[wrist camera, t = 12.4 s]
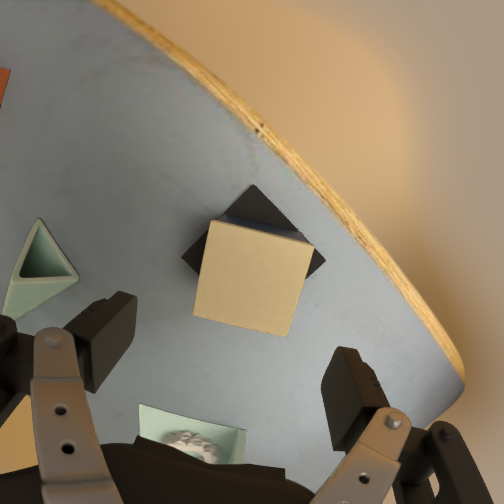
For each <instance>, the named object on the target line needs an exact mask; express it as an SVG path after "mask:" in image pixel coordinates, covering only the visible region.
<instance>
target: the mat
mask: <svg viewBox="0 0 504 504" xmlns="http://www.w3.org/2000/svg"><path fill="white" fill-rule="evenodd" d="M224 214H229V215H233V216H237V217H241V218H245V219H250V220H254V221H258V222H262V223H266V224H270V225H274V226H278V227H282V228H286V229H290V230H294V231H298V229H297V228H296V227H295V226H294V225H293V224H292V223H291V222H290V221H289V220H288V219H287V218H286V217H285V216H284V215H283V214H282V213H281V212H280V211H279V210H278V208H277V207H276V206H275V205H274V204H273V203H272V202H271V201H270V200H269V199H268V198H267V197H266V196H265V195H264V194H263V193H262V192H261V191H260V190H259V189H258V188H257V187H256V186H255V185H253V186H252V187H251V188H250V189H249V190H248V191H247V192H246V193H244V194H243V195H242V196H241V197H240V198H239V199H238V200H237V201H236V202H235V203H234V204H233V205H232V206H231V207H230V208H229V209H228V210H227V211H226V212H225V213H224ZM224 214H223V215H224ZM223 215H222V216H223ZM208 231H209V229H208V230H207V231H206V232H205V233H204V234H203V235H202V236H201V237H200V238H199V239H198V241H197V242H196V243H195V244H194V245H193V246H192V247H191V248H190V249H189V250H188V251H187V252H186V253H185V254H184V255H183V256H182V257H181V258H182V259H183V260H184V261H185V262H186V263H187V264H188V265H189V266H190V267H191V268H192V269H193V270H194V271H195V272H197V273H198V274H199V275H200V270H201V265H202V260H203V255H204V250H205V245H206V241H207V236H208ZM298 232H299V231H298ZM305 239H306V238H305ZM306 240H307V239H306ZM307 242H308V243H310V242H309V241H308V240H307ZM325 261H326V260H325V259H324V258H323V256H322V255H321V254H320V253H319V252H318V251H317V250H316V249H315V248H314V251H313V254H312V258H311V261H310V264H309V268H308V271H307V274H306V277H305V279H306V278H308V277H309V276H310V275H311V274H312V273H313V272H314V271H315V270H317V269H318V268H319V267H320V266H321V265H322V264H323V263H324V262H325Z"/></svg>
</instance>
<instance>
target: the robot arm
mask: <svg viewBox="0 0 504 504" xmlns="http://www.w3.org/2000/svg"><path fill="white" fill-rule="evenodd" d="M136 313H137V297H136V296H134V295H131V294H128V293H125V292H122V291H118V292H116V293H115V294H114V295H113V296H112V297H111V298H109V299H108V300H107V299H105V298H104V299H101V300H98V301H95V302H93V303H92V304H91V305H89V306H88V307H87V308H86V309H85V310H83V311H82V312H81V314H79V315H77V316H76V317H75V318H74V319H73V320H71V321H70V322H69V323H68V324H67V325H66V326H64V327H63V328H57V327H49V328H45V329H42V330H40V331H39V332H37V333H36V335H35V336H32V335H27V334H23V333H19V332H17V327H16V323H15V321H14V320H13V319H12V318H11V317H9V316H6V315H0V428H1V426H2V425H3V424H4V422H5V421H6V420H7V418H8V417H9V416H10V414H11V413H12V412H13V411H14V409H15V408H16V407H17V405H18V404H19V403H20V402H21V401H22V399H23V398H24V397H25V396H26V395H30V396H31V407H32V420H33V430H34V438H35V446H36V451H37V459H38V464H39V465H36V466H32V467H28V468H25V469H21V470H17V471H13V472H9V473H5V474H0V504H382V503H383V501H384V499H385V497H386V495H387V493H388V491H389V489H390V487H391V485H392V487H393V491H394V495H395V500H396V503H397V504H494V503H493V501H492V498H491V496H490V494H489V491H488V490H487V487H486V485H485V483H484V480H483V478H482V476H481V474H480V472H479V470H478V468H477V466H476V464H475V462H474V460H473V458H472V456H471V454H470V452H469V450H468V448H467V446H466V444H465V442H464V440H463V438H462V436H461V434H460V433H459V431H458V430H457V428H455V427H454V426H453V425H452V424H450V423H448V422H445V421H436V422H434V423H433V424H432V425H431V427H430V428H429V429H428V430H423V429H419V428H415V427H412V426H411V422H410V419H409V418H408V417H407V416H406V415H405V414H404V413H403V412H402V411H400V410H398V409H395V408H392V407H390V405H389V402H388V400H387V398H386V396H385V394H384V392H383V389H382V387H380V386H381V385H380V383H379V381H378V380H377V377H376V375H375V373H374V370H373V369H372V368H371V367H370V366H369V365H368V364H367V363H365V362H363V361H362V359H361V357H360V355H359V353H358V351H357V349H353V348H347V347H341V346H339V347H337V348H336V350H335V352H334V354H333V356H332V359H331V361H330V363H329V365H328V367H327V370H326V372H325V374H324V376H323V379H322V383H321V393H322V397H323V402H324V407H325V412H326V417H327V421H328V426H329V431H330V436H331V441H332V446H333V451H345V453H346V456H345V457H344V458H343V460H342V461H341V462H340V463H339V465H338V466H337V467H336V469H335V470H334V471H333V472H332V474H331V475H330V476H329V478H328V479H327V480H326V481H325V482H324V484H323V485H322V486H321V487H320V488H319V490H318V491H317V492H316V493H315V494H314V493H313V492H312V491H310V490H309V489H307V488H306V487H304V486H302V485H300V484H298V483H296V482H293V481H291V480H288V479H285V468H276V467H268V466H261V465H254V464H209V463H206V462H204V461H202V460H199V459H197V458H195V457H193V456H191V455H189V454H187V453H185V452H183V451H181V450H179V449H177V448H175V447H173V446H169V445H166V444H163V443H159V442H156V441H153V440H150V439H147V438H144V437H141V436H138V435H137V437H136V439H135V442H134V444H128V443H110V444H102V445H100V444H99V441H98V438H97V434H96V431H95V428H94V424H93V421H92V417H91V413H90V410H89V406H88V402H87V398H86V393H85V390H86V391H89V392H91V393H93V394H95V393H96V391H97V390H98V389H99V387H100V386H101V384H102V383H103V382H104V380H105V379H106V377H107V376H108V375H109V373H110V372H111V370H112V369H113V368H114V366H115V365H116V364H117V362H118V361H119V359H120V358H121V357H122V355H123V354H124V353H125V351H126V350H127V349H128V347H129V346H130V344H131V343H132V341H133V338H134V334H135V325H136ZM434 472H435V474H436V477H437V479H438V482H439V492H438V495H437V496H436V497H435V496H434V493H433V491H432V487H431V484H430V481H429V477H430V476H431V475H432V474H433V473H434Z"/></svg>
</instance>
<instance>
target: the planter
mask: <svg viewBox="0 0 504 504" xmlns="http://www.w3.org/2000/svg"><path fill="white" fill-rule="evenodd" d="M78 280H79V276H78V274H77V273H76V271H75V270H74V268H73V267H72V266H71V264H70V263H69V261H68V260H67V258H66V257H65V256H64V254H63V253H62V251H61V250H60V248H59V247H58V245H57V244H56V242H55V241H54V239H53V238H52V236H51V235H50V233H49V232H48V230H47V229H46V227H45V225H44V224H43V222H42V221H41V220H40V219H37V220H36V222H35V224H34V225H33V227H32V229H31V231H30V233H29V236H28V238H27V240H26V242H25V244H24V246H23V249H22V251H21V253H20V256H19V258H18V260H17V263H16V265H15V268H14V270H13V273H12V276H11V279H10V282H9V285H8V289H7V293H6V297H5V302H4V306H3V311H2V315H6V316H9V317H11V318H12V319H13V320H14V321H15V320H16V319H18V318H19V317H21V316H23V315H24V314H26V313H27V312H29V311H31V310H32V309H34V308H35V307H37V306H39V305H40V304H42V303H44V302H45V301H47V300H49V299H50V298H52V297H53V296H55V295H57V294H58V293H60V292H62V291H63V290H65V289H66V288H68V287H70V286H71V285H73V284H74V283H76V282H77V281H78Z"/></svg>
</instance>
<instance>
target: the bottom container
mask: <svg viewBox="0 0 504 504" xmlns="http://www.w3.org/2000/svg"><path fill="white" fill-rule="evenodd" d="M9 74H10V70H7V69H3V68H0V106H1V102H2V98H3V94H4V91H5V87H6V84H7V80H8V77H9Z"/></svg>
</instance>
